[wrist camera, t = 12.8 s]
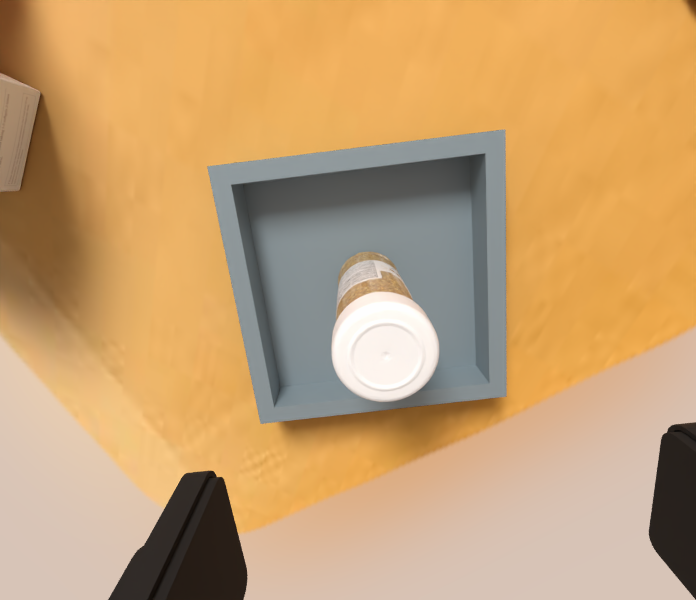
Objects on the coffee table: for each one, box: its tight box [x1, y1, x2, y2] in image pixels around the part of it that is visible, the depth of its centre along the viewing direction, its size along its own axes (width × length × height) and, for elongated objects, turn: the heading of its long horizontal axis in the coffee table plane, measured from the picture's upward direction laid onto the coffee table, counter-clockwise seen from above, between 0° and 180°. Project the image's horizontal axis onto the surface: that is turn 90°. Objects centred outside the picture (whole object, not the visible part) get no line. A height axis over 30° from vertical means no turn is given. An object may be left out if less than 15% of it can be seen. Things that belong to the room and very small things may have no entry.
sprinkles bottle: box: [331, 252, 439, 402], centre depth 23 cm, size 5×5×14 cm
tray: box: [208, 130, 506, 424], centre depth 28 cm, size 18×18×4 cm
